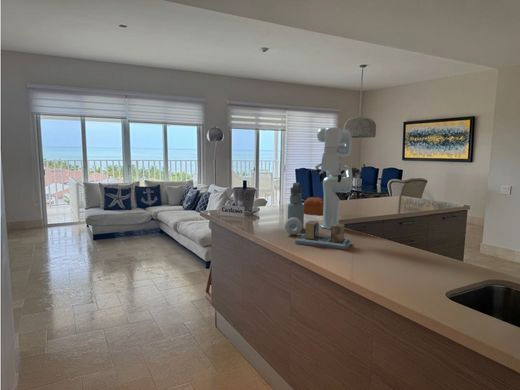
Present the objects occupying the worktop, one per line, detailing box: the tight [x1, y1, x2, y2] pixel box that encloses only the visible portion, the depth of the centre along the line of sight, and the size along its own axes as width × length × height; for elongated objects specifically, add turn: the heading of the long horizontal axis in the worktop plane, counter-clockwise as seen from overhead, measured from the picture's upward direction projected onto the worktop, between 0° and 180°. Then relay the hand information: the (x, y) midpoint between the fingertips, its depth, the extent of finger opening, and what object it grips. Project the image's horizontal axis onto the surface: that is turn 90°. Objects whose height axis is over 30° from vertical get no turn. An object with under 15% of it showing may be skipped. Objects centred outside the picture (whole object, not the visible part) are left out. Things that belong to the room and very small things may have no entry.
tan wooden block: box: [330, 222, 345, 243], centre depth 176 cm, size 5×8×9 cm, turn 155°
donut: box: [284, 218, 304, 236], centre depth 197 cm, size 10×4×10 cm, turn 91°
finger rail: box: [294, 220, 352, 251], centre depth 179 cm, size 12×26×11 cm, turn 65°
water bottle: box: [287, 182, 305, 230], centre depth 211 cm, size 10×10×28 cm
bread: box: [303, 196, 324, 216], centre depth 274 cm, size 16×27×11 cm, turn 167°
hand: (330, 181), depth 193 cm, fingers open, 9 cm apart
